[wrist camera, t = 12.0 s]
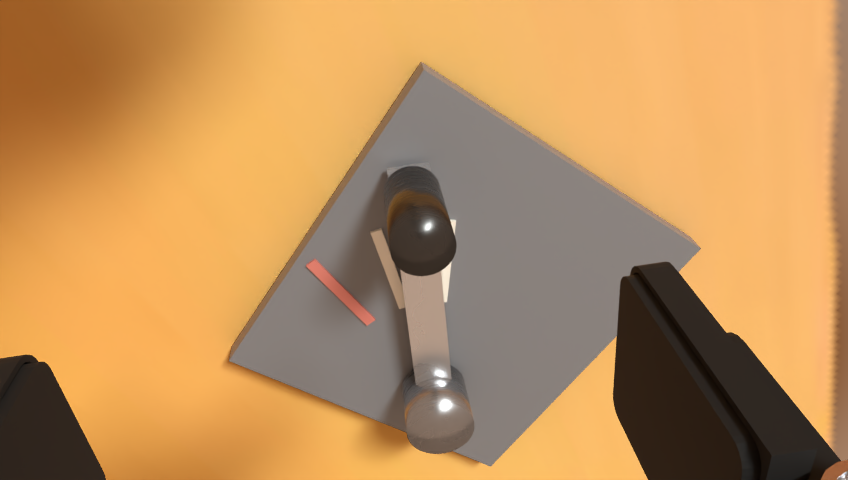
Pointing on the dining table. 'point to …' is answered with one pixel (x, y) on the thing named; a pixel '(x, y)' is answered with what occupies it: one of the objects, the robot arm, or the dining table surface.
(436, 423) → the swing lever
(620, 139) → the dining table surface
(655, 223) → the board
